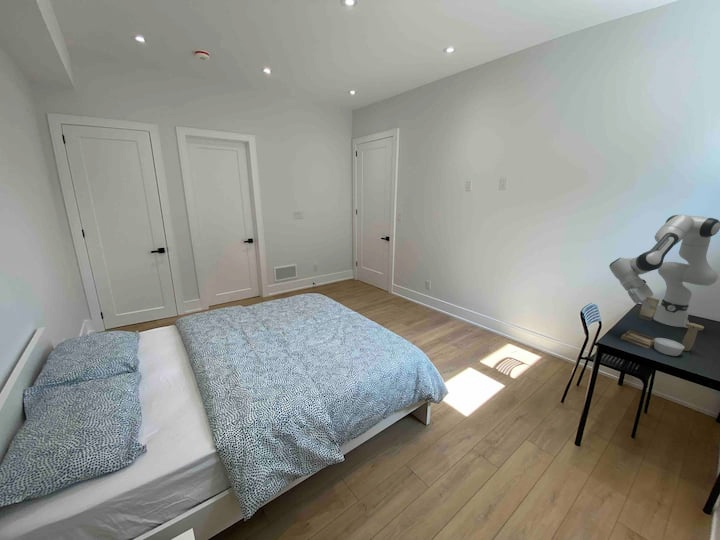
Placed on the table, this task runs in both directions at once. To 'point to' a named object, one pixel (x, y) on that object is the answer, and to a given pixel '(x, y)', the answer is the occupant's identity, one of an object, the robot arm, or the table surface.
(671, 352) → the ramekin
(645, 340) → the wooden tray
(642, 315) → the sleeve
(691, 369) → the table surface
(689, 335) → the handle
